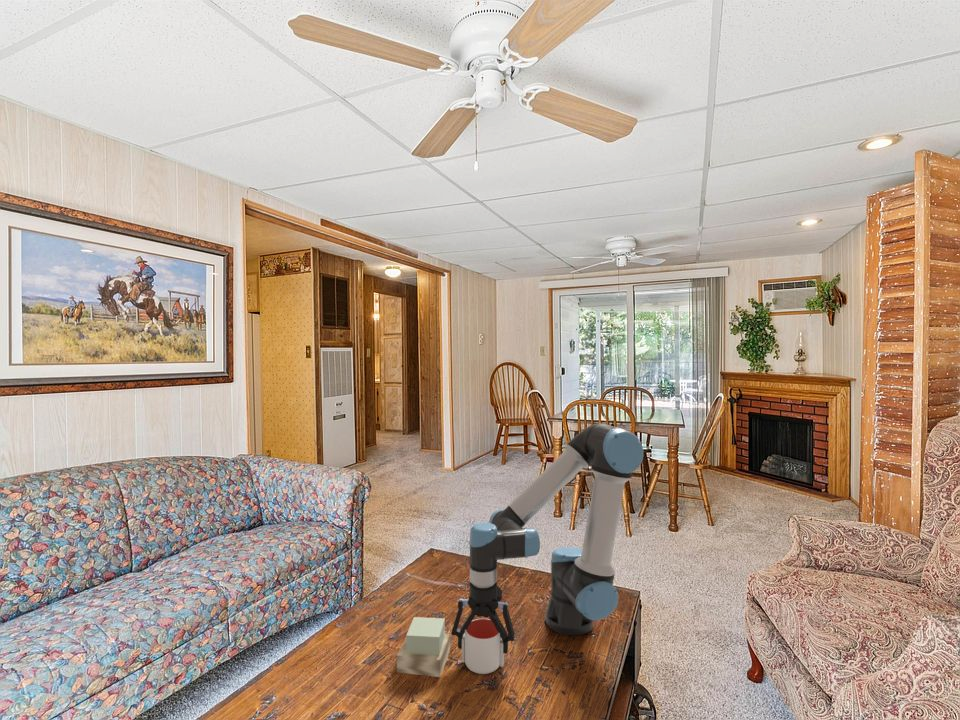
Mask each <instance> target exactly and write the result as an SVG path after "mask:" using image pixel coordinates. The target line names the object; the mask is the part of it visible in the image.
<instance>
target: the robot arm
mask: <svg viewBox="0 0 960 720" xmlns="http://www.w3.org/2000/svg"><path fill="white" fill-rule="evenodd" d="M643 460H644V448H643V444H642V442H641V440H640V439H639V437H638V436H637V435H636V434H635V433H633V432H630V431H629V430H627V429H625V428H621V427H618V426H613V425H610V424H608V423H599V422H598V423H593V424H591V425H589V426H587V427H585V428H584V429H582V430H581V431H579V433H578V434H576V435H575V436H574V437H573V438H572V439H571V440H570V441H568V442H567V443H566V445H565V450H564V451H563V452H562V453H560V454H559V456H558V457H557V458H556V459H554V460H553V462H551V464H550V465H548V467H546V468H545V470H543V471H542V472H541V474H539V476H537V477H536V478H535V479H534V480H533V482H531V483H530V484H529V485H528V486H527V487H526V488H525V489H524V490H523V491H522V492H521V493H520V494H519V495H518V496H517V497H516V498H515V499H514V500H513V501H512V502H511V503H510V504H509V505H507V506H506V507H505V509H498V510H495V511H494V512H493V513H492V514H491V515H490V517H489V522H479V523H475V524H473V525H472V526H471V528H470V530H469V531H470V533H469V543H468V544H469V597H468V598H465V597H463V596H460V597H459V599H458V601H457V609H458V610H457V613H456V615H455V620H454V623H453V626H452V629H451V633H450V635H452V636H456V637H457V647H458V649H459V650H461V664H462V663H465V629H466V630H467V628H468V626H469V625H470V623H471V621H473V620H475V619H474V618H475V617H477V618H478V617H479V618H482V617H484V618H486V619H488V618H489V620H491V621H492V622H493V624H494V626H495V627H496V629H497V631H498V633H500V637H501V642H500V666H499V668H504V664H505V654H508V652H509V642H514V641H515V635H516V633H515V630H514V627H513V623H512V618H511V614H510V612H509V602H508V601H507V600H505V601H498V599H497V586H498V583H497V581H498V561H500V560H508V559H521V558H528V557H529V558H530V557H534V556H537V555H538V554H539V553H540V548H541V540H540V536H539V533H538V531H537V529H536V528H534V527H525V525H526V524H528V523H529V521H530V520H531V519H533V518H534V516H536V514H538V513H539V511H541V510H542V509H543V507H545V506H546V505H547V504H548V503H549V502H550V501H551V500H552V499H553V498H554V497H555V496H556V495H557V494H558V493H559V492H560V491H561V490H562V489H563V488H564V487H565V486H566V485H567V484H569V482H570V481H571V480H572V479H574V477H576V475H577V474H578V473H579V472H580V471H582V470H583V469H588V468H589V467H590V471H591V472H592V473H593V474H594V475H593V476H594V479H593V480H594V481H593V487H592V490H591V491H592V492H591V498H590V503H589V507H588V508H589V509H588V515H587V520H586V526H585V531H584V536H583V543H582V547H575V546H567V547H566V546H565V547H558V548H556V549H554V550H553V551H552V552H551V557H550V558H551V559H550V568H551V569H550V574H551V575H550V576H551V577H550V584H551V585H550V592H551V593H550V598H549V601H548V604H547V607H546V610H545V619H544V620H545V624H546V625H547V626H548V627H549V628H550V629H551V630H552V631H554V632H557V633H559V634H560V635H561V634H562V635H565V636H566V635H567V636H581V635H585V633H586V634H588V633H590V632H591V631H592V630H593V629H594V624H595V621H600V620H604V619H606V618H607V617H608V616H609V615H612V614H613V612H614V611H615V610H616V608H617V606H618V603H619V592H618V590H617V589H616V587H615V585H614V579H615V575H616V573H615V572H616V571H615V569H614V567H613V565H612V560H613V559H612V558H613V553H614V547H615V541H616V537H617V536H616V535H617V531H618V530H617V529H618V525H619V518H620V513H621V506H622V501H623V498H624V497H623V496H624V489H625V484H626V483H627V482H628V481H630V480H631V479H632V476H633V473H634V472H635V471H637V468H639V467H640V466H641V465H642V462H643ZM523 527H524V528H523ZM467 605H468V607H469V608H470V612H469V614H468V616H467V617H466V619H465V621H464V622H463V624H462V626H461V627H460V628H459V624H460V622H461V618H462V614H463V612H464V609H465V608H466V606H467ZM498 608H499V610H500V612H501V613H502V617H503V622H504V624H505V627H504V624H503V623H502V621H501V619H500V617H499V615H498V613H497V611H496V610H497V609H498Z"/></svg>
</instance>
